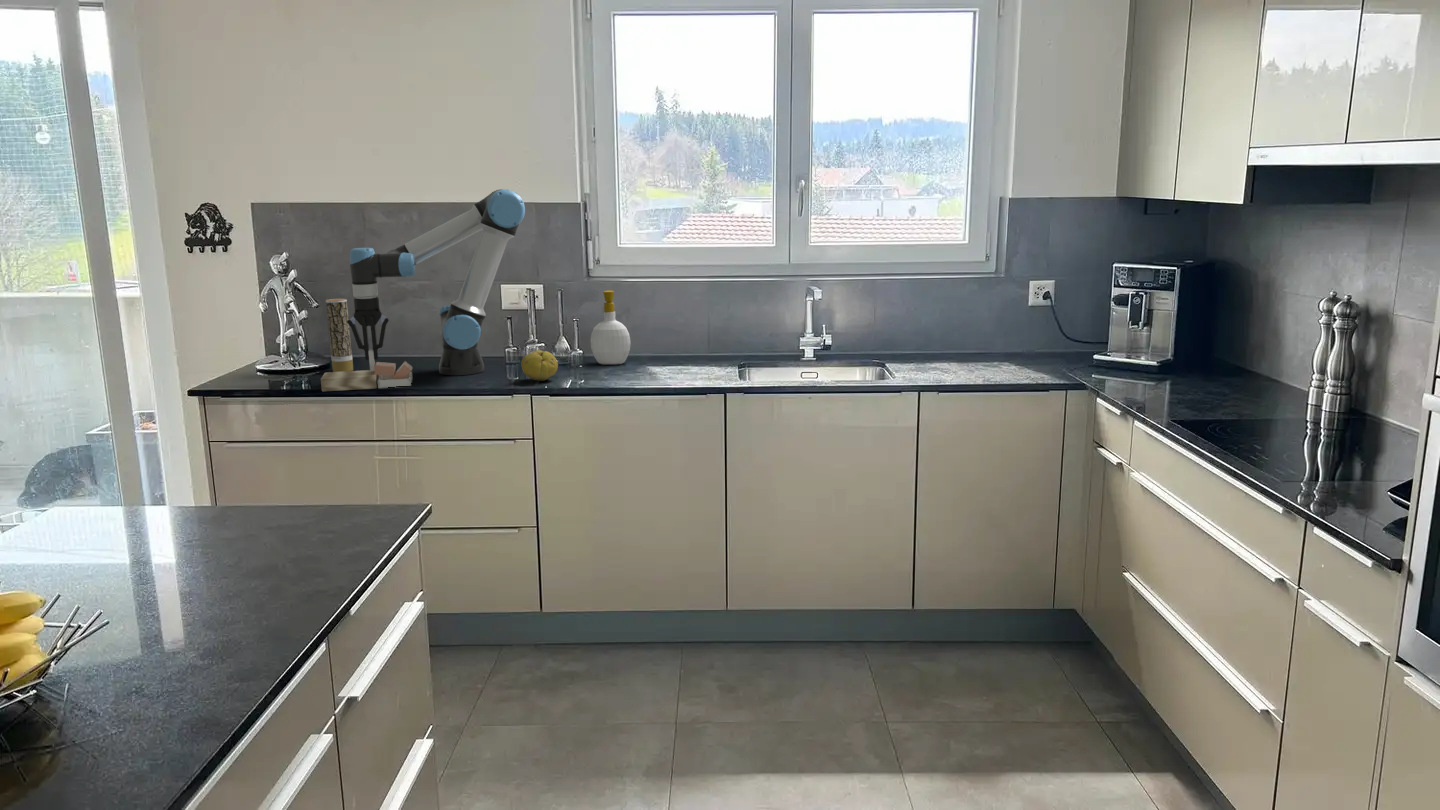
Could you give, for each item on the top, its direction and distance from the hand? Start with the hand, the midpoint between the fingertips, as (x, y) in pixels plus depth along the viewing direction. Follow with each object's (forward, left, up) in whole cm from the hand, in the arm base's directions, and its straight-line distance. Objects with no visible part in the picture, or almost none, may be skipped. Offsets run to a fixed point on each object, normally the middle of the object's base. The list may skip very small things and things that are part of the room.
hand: (372, 369), depth 325 cm
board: (+7, 0, -5) cm, 9 cm away
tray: (-7, 0, -5) cm, 8 cm away
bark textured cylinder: (+12, -27, -5) cm, 30 cm away
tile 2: (-8, 0, 0) cm, 8 cm away
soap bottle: (-79, -14, -5) cm, 81 cm away
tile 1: (-4, 0, -1) cm, 4 cm away
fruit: (-53, +9, -5) cm, 54 cm away
